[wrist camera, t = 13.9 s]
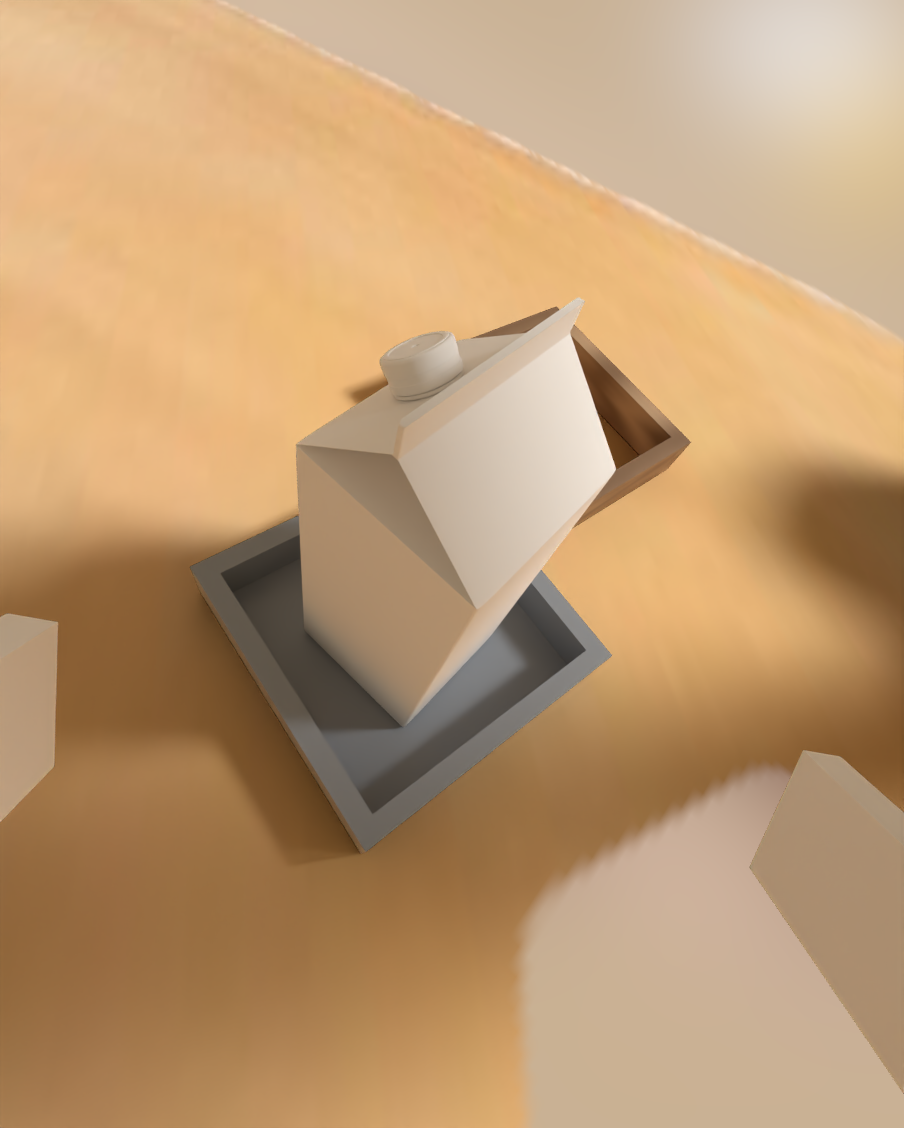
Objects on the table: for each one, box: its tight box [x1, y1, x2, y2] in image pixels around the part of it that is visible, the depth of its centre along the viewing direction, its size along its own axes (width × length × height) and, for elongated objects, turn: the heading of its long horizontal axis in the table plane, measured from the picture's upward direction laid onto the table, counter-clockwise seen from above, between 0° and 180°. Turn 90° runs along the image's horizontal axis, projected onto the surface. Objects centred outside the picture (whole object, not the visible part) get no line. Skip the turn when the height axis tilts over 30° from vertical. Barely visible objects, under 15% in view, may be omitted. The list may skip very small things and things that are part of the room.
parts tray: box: [190, 516, 612, 854], centre depth 29 cm, size 15×15×3 cm
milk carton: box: [296, 298, 616, 727], centre depth 22 cm, size 7×7×19 cm
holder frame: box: [471, 307, 691, 528], centre depth 38 cm, size 14×14×3 cm
